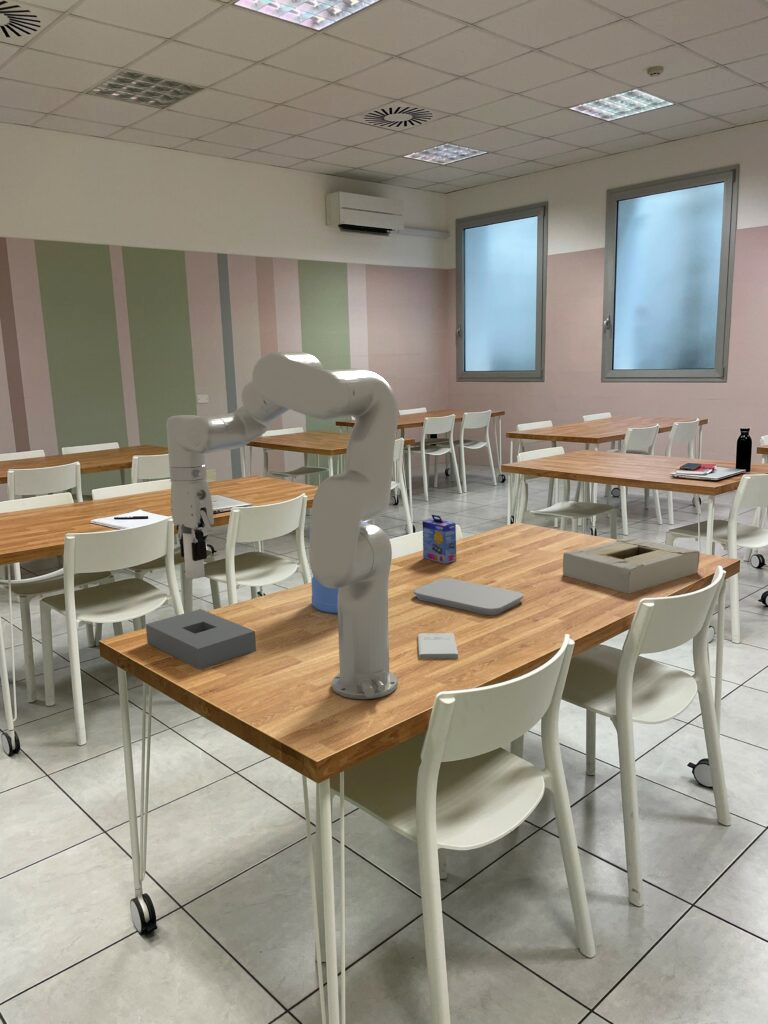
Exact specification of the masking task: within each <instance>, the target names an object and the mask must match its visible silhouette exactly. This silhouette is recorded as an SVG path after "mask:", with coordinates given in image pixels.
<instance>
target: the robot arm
mask: <svg viewBox="0 0 768 1024" xmlns="http://www.w3.org/2000/svg"><path fill="white" fill-rule="evenodd" d="M252 369H253V370H252V374H251V377H252V378H251V380H250V381H249V382H247V383H246V384H245V385H244V386H243V388H242V390H241V401H242V406H241V407H239V408H237V409H235V411H232V412H230V413H220V414H219V413H218V414H212V415H211V414H210V415H202V416H199V415H195V414H179V415H172V416H170V417H168V418H167V420H166V439H167V450H168V464H169V465H168V466H169V480H170V509H171V510H170V511H171V519H172V523H173V525H174V526H175V528H176V530H177V532H178V533H177V535H178V538H179V547H180V557H181V558H184V544H183V532H182V524H183V525H184V526H186V527H188V528H191V531H192V537H193V543H191V544H192V559H193V561H198V560H203V559H204V560H206V559H207V556H208V555H207V554H208V552H207V541H208V536H209V535H210V533H211V532H212V530H213V528H212V526H213V525H214V523H215V518H214V517H215V516H214V507H213V501H212V496H211V495H212V494H211V489H210V485H209V481H208V475H207V474H208V473H207V459H206V458H207V457H206V454H213V453H218V452H224V451H229V450H236V449H240V448H242V447H244V446H246V445H248V444H250V443H251V442H253V441H254V440H256V439H258V438H260V437H261V436H262V435H264V434H265V433H266V432H267V431H268V430H269V429H270V428H271V426H272V424H273V422H274V420H276V419H277V418H279V417H281V416H282V415H283V414H285V413H287V412H288V411H290V410H291V411H293V412H296V413H299V414H302V415H304V416H306V417H309V418H312V419H316V420H322V421H323V420H324V421H331V420H337V419H345V418H346V419H347V418H350V417H353V418H354V420H355V422H354V425H353V426H352V429H351V432H350V434H349V436H348V439H347V444H346V457H345V465H344V469H343V471H342V472H341V473H336V474H334V475H331V476H329V477H327V478H326V479H324V480H323V481H322V482H321V483H320V484H319V486H318V487H317V489H316V491H315V493H314V496H313V500H312V507H311V519H310V526H311V530H310V532H309V533H310V543H309V544H308V545H309V547H308V548H309V549H308V562H309V567H310V570H311V573H312V576H313V575H314V577H315V579H316V580H317V581H318V582H319V583H320V584H321V585H323V586H325V587H327V588H339V590H338V613H337V628H338V629H337V630H338V631H337V632H338V653H339V654H338V655H339V657H338V659H339V661H338V662H339V673H337V674H336V675H335V676H334V677H333V679H332V681H331V688H332V690H333V691H334V692H335V693H336V694H337V695H339V696H341V697H344V698H346V699H347V698H348V699H353V700H372V699H379V698H382V697H385V696H388V695H389V694H392V693H393V692H394V691H395V690H396V689H397V688H398V684H399V683H398V682H399V681H398V677H397V676H396V674H394V673H393V672H391V671H390V641H389V640H390V638H389V637H390V636H389V634H390V633H389V580H390V573H391V572H390V571H391V566H392V556H393V552H392V551H393V548H392V544H391V540H390V537H389V536H388V535H387V533H386V531H384V530H383V529H382V528H381V527H379V526H377V525H375V524H372V523H368V522H369V521H372V520H374V519H378V518H379V517H381V516H382V515H383V514H384V513H385V512H386V511H387V509H388V507H389V504H390V499H391V490H392V479H393V471H394V470H393V469H394V460H395V459H394V457H395V455H394V453H395V445H396V436H397V430H398V422H399V404H398V399H397V397H396V394H395V392H394V389H393V388H392V386H391V385H390V384H389V383H388V381H387V380H385V378H384V377H382V376H381V375H379V374H377V373H376V372H374V371H372V370H368V369H363V368H343V369H340V368H339V369H324V366H323V364H322V362H321V361H320V360H319V359H318V358H317V357H316V356H314V355H313V354H311V353H307V352H304V351H273V352H269V353H267V354H264V355H263V356H262V357H260V358H259V359H258V360H257V361H256V363H255V365H254V366H253V368H252ZM364 522H367V523H368V524H361V523H364ZM198 524H200V525H201V527H198ZM197 530H201V531H199V533H198V534H197Z"/></svg>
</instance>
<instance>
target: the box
mask: <svg viewBox="0 0 768 1024" xmlns="http://www.w3.org/2000/svg"><path fill="white" fill-rule="evenodd" d="M700 554H701V553H700V550H697V549H692V548H684V547H679V546H674V545H671V544H664V543H660V542H655V541H651V540H646V539H641V538H638V537H634V536H630V537H625V538H623V539H616V540H615V541H613V542H609V543H605V544H600V545H595V546H590V547H587V548H582V549H574V550H569V551H566V552H563V554H562V555H563V556H562V557H563V558H562V575H563V576H565V577H568V578H572V579H576V580H579V581H583V582H586V583H590V584H594V585H597V586H600V587H604V588H608V589H611V590H615V591H618V592H622V593H625V594H628V595H629V594H632V593H634V592H638V591H642V590H644V589H649V588H651V587H654V586H658V585H662V584H665V583H667V582H671V581H674V580H677V579H682V578H684V577H688V576H690V575H694V574H698V572H699V565H700V556H701V555H700Z"/></svg>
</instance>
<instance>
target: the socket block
mask: <svg viewBox="0 0 768 1024" xmlns="http://www.w3.org/2000/svg"><path fill="white" fill-rule="evenodd" d="M145 631H146V642H147V645H150V646H152V647H154V648H157V649H158V650H160V651H163V652H164V653H166V654H168V655H171V656H172V657H173V658H176V659H178V660H179V661H181V662H184V663H186V664H187V665H190V666H192V667H194V668H196V669H198V670H203V669H206V668H208V667H209V668H210V667H211V666H215V665H217V664H220V663H223V662H226V661H229V660H233V659H235V658H238V657H241V656H244V655H247V654H249V653H253V652H255V651H257V647H256V644H257V643H256V630H253V629H251V628H248V627H245V626H244V625H241V624H238V623H236V622H233V621H231V620H228V619H226V618H224V617H221V616H219V615H216V614H214V613H211V612H209V611H206V610H204V609H201V608H200V609H197V610H196V609H195V610H193V611H188V612H186V613H181V614H178V615H174V616H171V617H167V618H163V619H160V620H156V621H153V622H149V623H145Z"/></svg>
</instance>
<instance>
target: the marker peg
mask: <svg viewBox="0 0 768 1024" xmlns="http://www.w3.org/2000/svg"><path fill="white" fill-rule="evenodd" d="M198 527H201V525H200V524H198ZM199 531H201V530H197V534H198V533H199ZM182 532H183V544H184V557H183V558H184V559H183V560H184V569H185V578H186V579H189V580H190V579H191V580H192V579H194V580H195V579H201V578H205V575H206V574H205V561H204V560H205V559H203V560H198V561H193V559H192V544H191V543H193V537H192V531H191V528H188V527H186V526H184V525H183V524H182Z"/></svg>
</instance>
